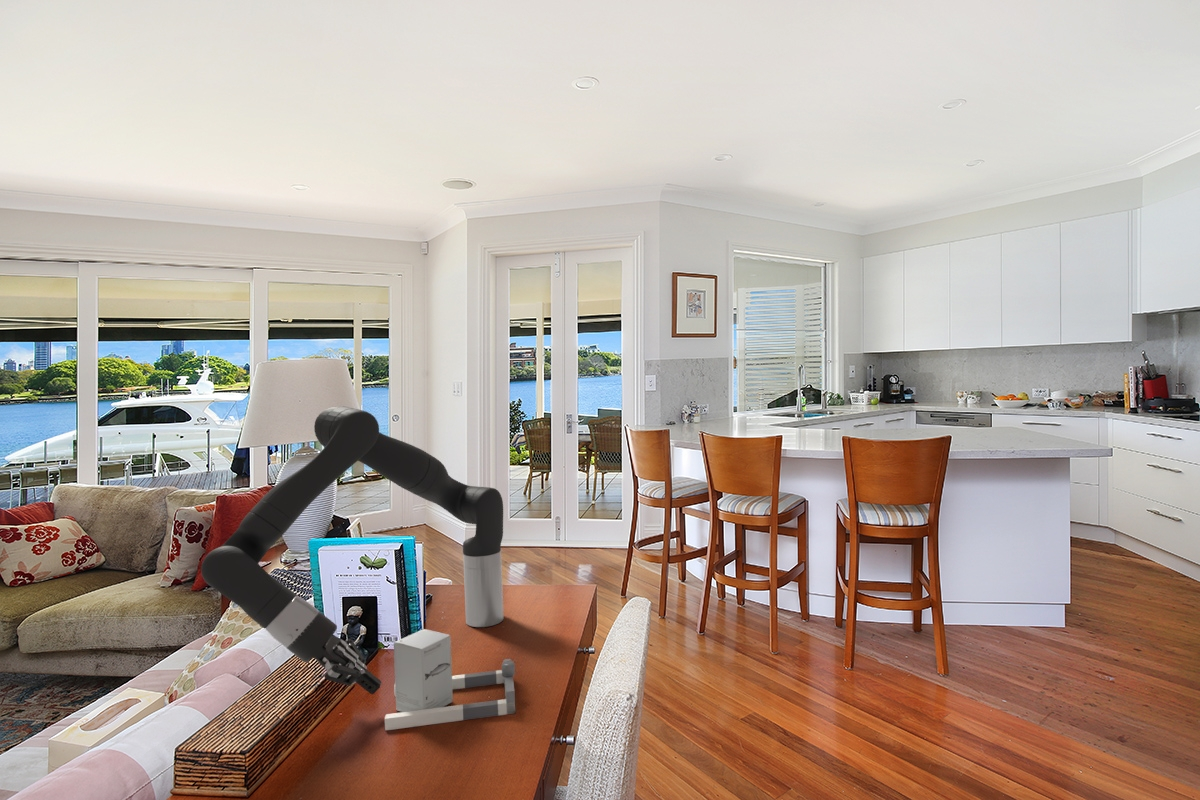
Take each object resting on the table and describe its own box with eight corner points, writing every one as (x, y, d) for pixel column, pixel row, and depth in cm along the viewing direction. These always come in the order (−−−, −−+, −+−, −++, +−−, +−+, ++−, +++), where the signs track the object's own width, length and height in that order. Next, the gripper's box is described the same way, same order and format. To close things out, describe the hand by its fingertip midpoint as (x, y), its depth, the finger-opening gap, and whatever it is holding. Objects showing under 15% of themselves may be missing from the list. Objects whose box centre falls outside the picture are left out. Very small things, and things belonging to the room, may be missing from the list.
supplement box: (423, 721, 110) (420, 649, 109) (395, 710, 114) (391, 641, 113) (454, 702, 116) (451, 634, 116) (426, 693, 120) (423, 627, 120)
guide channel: (395, 692, 120) (394, 661, 120) (514, 678, 124) (512, 648, 124) (385, 730, 107) (383, 695, 107) (518, 712, 111) (516, 679, 111)
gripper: (306, 625, 105) (387, 689, 107) (326, 599, 118) (397, 657, 120) (273, 660, 104) (355, 724, 106) (297, 630, 117) (369, 688, 119)
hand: (377, 688), depth 113 cm, fingers closed
